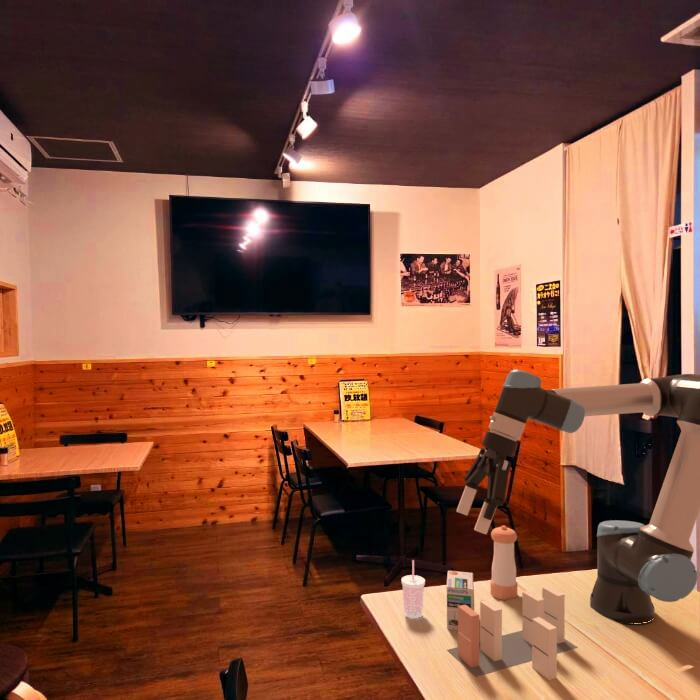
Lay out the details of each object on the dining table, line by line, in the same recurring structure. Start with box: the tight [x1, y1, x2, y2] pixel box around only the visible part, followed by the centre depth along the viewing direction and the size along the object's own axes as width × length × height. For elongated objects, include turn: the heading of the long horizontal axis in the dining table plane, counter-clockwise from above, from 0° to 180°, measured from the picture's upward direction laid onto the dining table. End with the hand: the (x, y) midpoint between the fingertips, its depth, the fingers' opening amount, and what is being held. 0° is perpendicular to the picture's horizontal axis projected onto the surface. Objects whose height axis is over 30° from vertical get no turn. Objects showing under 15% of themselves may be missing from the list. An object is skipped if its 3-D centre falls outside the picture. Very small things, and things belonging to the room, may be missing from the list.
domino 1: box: [457, 605, 480, 668], centre depth 121 cm, size 2×5×11 cm, turn 23°
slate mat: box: [446, 630, 578, 677], centre depth 126 cm, size 28×11×1 cm, turn 113°
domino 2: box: [479, 599, 503, 661], centre depth 123 cm, size 2×5×11 cm, turn 24°
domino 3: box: [521, 590, 544, 645], centre depth 128 cm, size 2×5×11 cm, turn 24°
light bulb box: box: [446, 570, 475, 631], centre depth 139 cm, size 11×7×11 cm, turn 168°
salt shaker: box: [490, 525, 518, 601], centre depth 154 cm, size 7×7×19 cm
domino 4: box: [541, 585, 566, 643], centre depth 130 cm, size 2×5×11 cm, turn 23°
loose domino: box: [531, 617, 558, 681], centre depth 116 cm, size 2×5×11 cm, turn 23°
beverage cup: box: [401, 559, 426, 619], centre depth 143 cm, size 6×6×14 cm
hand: (470, 522), depth 127 cm, fingers open, 13 cm apart
